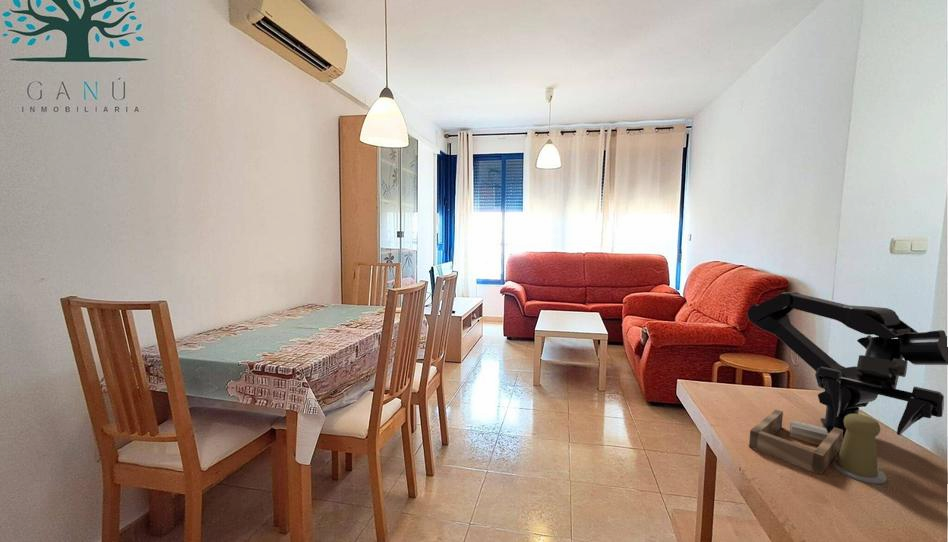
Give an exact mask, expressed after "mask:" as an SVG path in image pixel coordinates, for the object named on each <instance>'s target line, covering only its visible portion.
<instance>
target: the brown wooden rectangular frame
mask: <svg viewBox="0 0 948 542" xmlns="http://www.w3.org/2000/svg"><path fill="white" fill-rule="evenodd" d="M783 418H784V411H782V410H780V409H774V410H773V411H772V412H770V414H768V415H767V416H766V417H765V418H764V419H762V420H761V421H760V422H759V423H757V424H756V425H754V426H753V427H752V428H751V429H750V432H749V442H748V443H749V444H748V447H749V448H751V449H753V450H756V451H759V452H761V453H763V454H766V455H768V456H771V457H773V458H774V457H775V458H776V459H779V460H782V461H784V462H787V463H790V464H792V465H795V466H797V467H800V468H803V469H805V470H808V471H810V472H812V471H813V473H815V472H816V473H815V474H817V475H820V474H822V475H823V473H824V472H825V470H826V469H827V468H828V466H829V465H830V464H831V462H833V461H832V460H833V459H834V458H835V456H836V455H837V454H838V452H840V449H841V445H842V442H843V435H844V434H843V430H842V429H839V428H835V427H834V428H833V429H832V430H831V431H829V433H828V435H827V437H826V438H825V439H824V440H823V441H822V443H821V444H820V445H818V446H817V448H816V449H814V448H811V447H809V446H805V445H803V444H800V443H796V442H794V441H790V440H788V439H785V438H782V437H779V436H776V435H775V434H776V433H777V432H778V431H779V430H780V429H781V428H783Z"/></svg>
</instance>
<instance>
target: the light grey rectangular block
mask: <svg viewBox="0 0 948 542" xmlns="http://www.w3.org/2000/svg"><path fill="white" fill-rule="evenodd" d="M828 432H829V431H827V429H826V428H824V427H821V426H817V425H813V424H808V423H804V422H801V421H800V422H799V421H795V420H790V427H789V437H790V438H793V439H796V440H800V441H804V442H808V443H812V444H814V445H815V444H816V445H818V446H819V445H820V444H821V443H822V441H823V440H824V439H825V438H826V437H827V435H828V434H829V433H828Z"/></svg>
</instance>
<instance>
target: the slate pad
mask: <svg viewBox="0 0 948 542" xmlns="http://www.w3.org/2000/svg"><path fill="white" fill-rule="evenodd" d="M836 461H837V458H835V459H834V460H833V461H832V462H833V463H832V465H833V467H834V469H836V470H837V471H838V472H839V473H841V474H843V475H845V476H846V477H849V478H850V479H853V480H856V481H858V482H862V483H867V484H872V485H883V484H885V483H887V476H886V475H885V474H884V472H883V471H881V470H879V469H878V476H877V477H875V478H867V477H861V476H858V475H855V474H852V473H850V472H847V471H845V470H843V469H842V468H841V467H839V466H838V465H837V463H836Z"/></svg>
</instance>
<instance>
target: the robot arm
mask: <svg viewBox="0 0 948 542" xmlns="http://www.w3.org/2000/svg"><path fill="white" fill-rule="evenodd" d="M794 310H797V311H800V312H801V311H802V312H805V313H807V314H813V315H815V316H820V317H823V318H827V319H829V320H835V321H837V322H839V323H842V324H843V325H844V326H845V327H847V328H849V329H851V330H853V331H856V332H859V333H860V334H864V335H866V336H864V337H860V338H859V339H857V340H856V341H857V343H859V344H860V345H861V346H862V347H864V349H865V353H864V355H863V354H860V355H858V359H857V364H856V366H855V365H854V366H847V367H846V366H844V365H841V364H840V363H838V362H837V361H836V360H835V359H833V358H832V357H831V356H830V355H829V354H827V352H825V351H824V350H822V348H820V347H819V346H818V345H816V343H814V342H813V341H812V340H811V339H809V338H808V337H807V336H806V335H805V334H803V333H802V332H801V331H800V330H799V329H797V328H796V327H795V326H794V325H793V324H792V323H791V320H790V318H789V315H788V314H790V313H792V312H793V311H794ZM747 319H748V320H749V322H751V323H752V324H753V325H754V326H756V327H757V328H759V329H761V330H763V331H765V332H768V333H770V334H772V335H774V336H775V337H777V338H778V339H779V340H780V341H781V342H782V343H783V344H784V345H786V346H787V347H788V348H789V349H790V350H792V351H793V352H794V353H795V354H796V355H797V356H798V357H799V358H800V359H802V360H803V361H804V363H805V364H807V366H809V367H811V369H812V370H813V371H815V380H816V382H817V386H818V387H819V388H821V389H823V390H824V391H822V392H820V393H818V394H817V397H818V401H819V403H820V404H821V405H824V406H825V414H824V415H825V416H824V418H823V417H822V418H820V420H819V421H820V423H821V424H822V426H823V427H822V428H826V429H827V432H831V430H832V429H833V428H834V427H835V428H839V429H842V430H843V435H845V433H846V428H845V426H844V418H845V416H847V415H848V414H860V413H859V412H860V408H863V407H867V406H868V404H870V403H872V402H874V401H876V400H877V398H878V396H884V397H886V398H887V397H888V398H893V399H896V400H900V401H905V402H906V406H905V409H904V411H903V414H902V416H901V418H900V420H899V423H898V426H897V430H896V435H898V436H901V435H902V434H903V433H904V432H905V431H906V430H908V429H909V428H910V427H911V426H912V425H913V424H916V423H917V422H918V421H920V420H922V418H925V419H931V418H932V417H937V418H942V417H943V412H944V409H945V408H944V407H945V395H944V394H943V393H941V391H938V390H933V389H927V388H924V387H919V386H913V389H912V391H911V392H910V391H907V390H902V389H898V388H897V385H898V382H899V379H900V378H899V377H902V378H905V377H906V375H907V371H908V362H910V364H912V365H914V366H924V365H925V366H931V365H932V366H948V347H947V337H948V336H947V335H946V331H945V330H932V331H931V330H929V331H925V332H924V331H923V332H918V331H916V330H915V329H914V328H912V327H911V326H910V325H908V324H907V323H905V322H904V321H903V320H902V319H900V317H899V316H898V314H897V313H896V311H895V310H893V309H890V308H889V307H888V308H887V307H881V306H879V307H878V306H867V305H866V306H865V305H851V304H850V305H849V304H845V303H841V302H836V301H832V300H828V299H824V298H820V297H815V296H810V295H808V294H807V295H806V294H803V293H800V292H797V291H788V292H786V291H785V292H782V293H780V294H778V295H777V296H774V297H773V298H770V299H768V300H766V301H764V302H761V303H759V304H753V305H751V306H749V308H748V310H747ZM872 335H873V336H872Z"/></svg>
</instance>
